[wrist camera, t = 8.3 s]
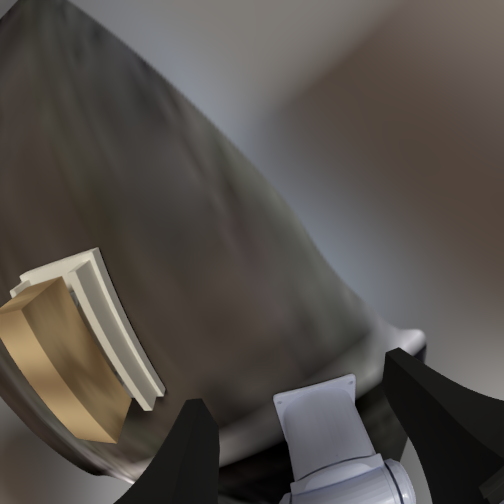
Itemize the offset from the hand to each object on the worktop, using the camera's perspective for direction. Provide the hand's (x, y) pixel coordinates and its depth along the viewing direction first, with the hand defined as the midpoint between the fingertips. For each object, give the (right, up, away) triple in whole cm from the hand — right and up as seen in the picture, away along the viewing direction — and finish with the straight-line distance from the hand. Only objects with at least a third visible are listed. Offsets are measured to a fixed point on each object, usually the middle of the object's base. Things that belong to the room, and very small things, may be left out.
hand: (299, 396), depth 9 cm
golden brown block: (-16, -2, +8) cm, 18 cm away
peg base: (-16, -2, +11) cm, 19 cm away
